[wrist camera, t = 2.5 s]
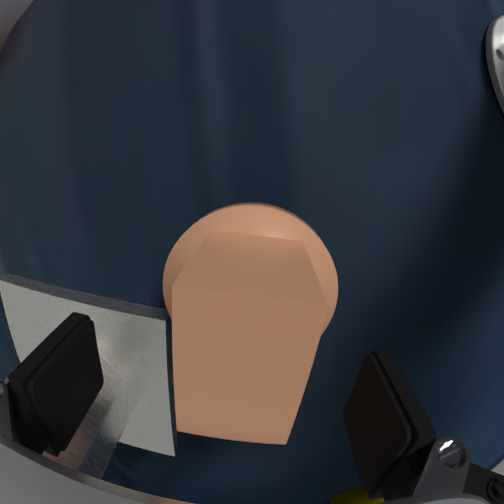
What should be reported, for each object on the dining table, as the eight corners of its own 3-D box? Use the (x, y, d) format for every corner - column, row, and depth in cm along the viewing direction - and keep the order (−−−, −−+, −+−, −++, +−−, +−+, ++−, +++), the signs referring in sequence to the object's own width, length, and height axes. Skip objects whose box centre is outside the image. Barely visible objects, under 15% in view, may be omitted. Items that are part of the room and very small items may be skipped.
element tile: (355, 518, 32) (358, 540, 27) (326, 494, 28) (329, 523, 24) (440, 483, 29) (448, 504, 24) (436, 449, 25) (448, 477, 21)
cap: (333, 205, 17) (414, 271, 7) (307, 329, 20) (333, 460, 10) (189, 186, 17) (95, 230, 7) (183, 313, 20) (126, 434, 10)
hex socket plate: (171, 309, 20) (99, 443, 9) (178, 445, 25) (151, 541, 14) (8, 273, 20) (-83, 333, 9) (46, 402, 25) (-1, 470, 14)
